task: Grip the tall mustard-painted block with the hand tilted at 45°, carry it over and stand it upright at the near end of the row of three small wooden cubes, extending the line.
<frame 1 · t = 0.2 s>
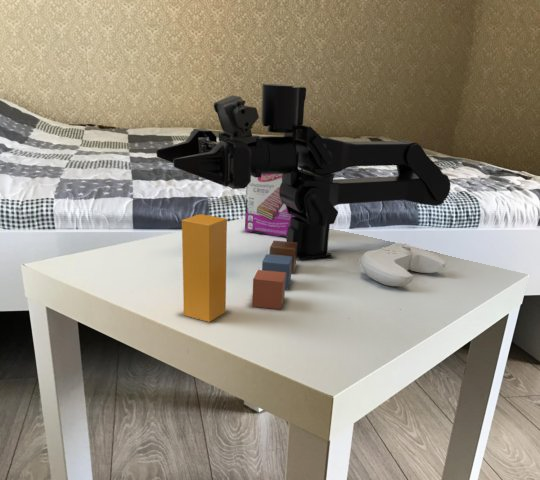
hand: (164, 158, 85), 17 cm above the table, tool horizontal, fingers open, 9 cm apart
tall block: (204, 313, 76), on the table
cube a: (282, 268, 94), on the table
candy bar box: (274, 234, 114), on the table
cube b: (276, 284, 87), on the table
cube c: (268, 302, 81), on the table
game controller: (398, 277, 94), on the table
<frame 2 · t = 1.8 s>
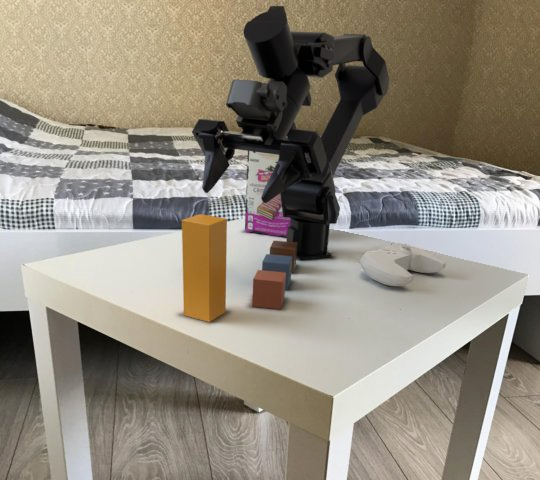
hand: (233, 195, 76), 14 cm above the table, tool tilted 45°, fingers open, 9 cm apart
nothing on the table moved.
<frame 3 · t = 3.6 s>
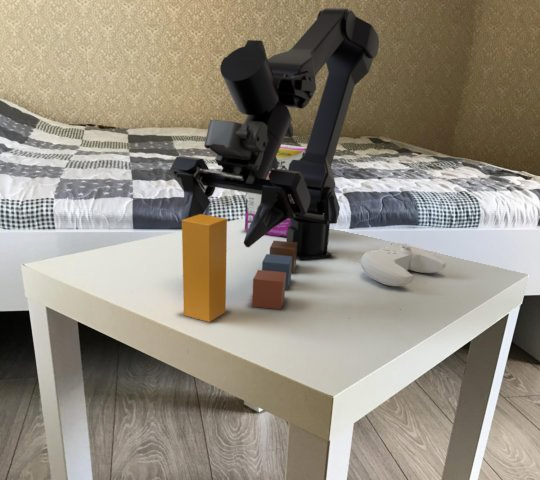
hand: (214, 239, 73), 10 cm above the table, tool tilted 45°, fingers open, 9 cm apart
nothing on the table moved.
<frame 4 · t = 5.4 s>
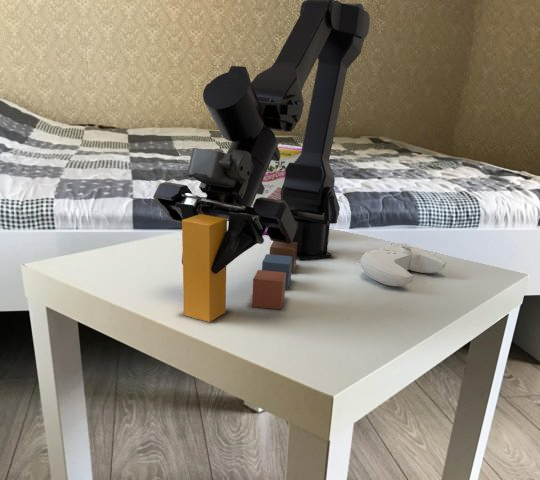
hand: (198, 268, 72), 7 cm above the table, tool tilted 45°, fingers closed on tall block, 4 cm apart
tall block: (204, 313, 76), on the table, touching gripper
everything else where it was.
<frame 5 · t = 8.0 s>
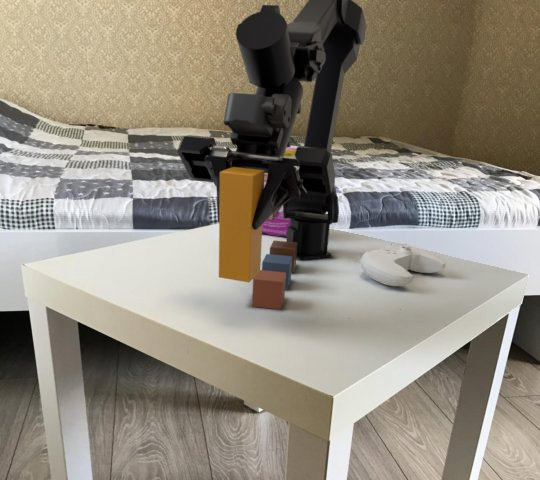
hand: (236, 225, 67), 13 cm above the table, tool tilted 45°, fingers closed on tall block, 4 cm apart
tall block: (239, 275, 71), point 6 cm above the table, touching gripper
everything else where it was.
when the fingers open (7 cm above the table, at t = 10.8 s): tall block stays where it is, on the table.
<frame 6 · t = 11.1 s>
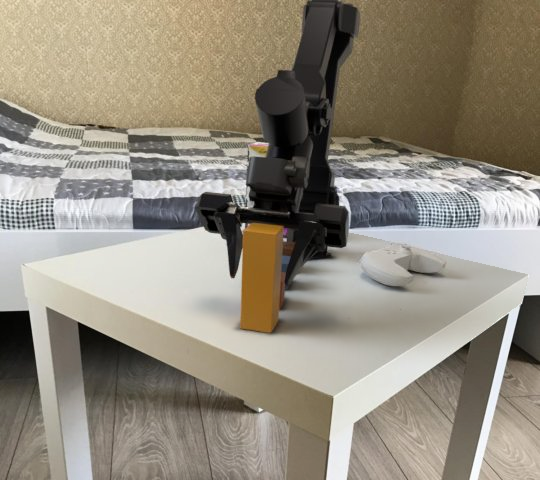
hand: (258, 280, 69), 6 cm above the table, tool tilted 45°, fingers open, 6 cm apart
tall block: (259, 324, 74), on the table
everything else where it was.
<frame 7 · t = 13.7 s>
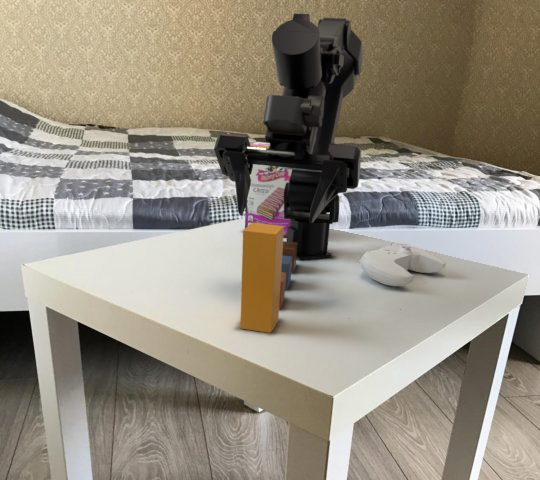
hand: (274, 217, 73), 13 cm above the table, tool tilted 45°, fingers open, 9 cm apart
nothing on the table moved.
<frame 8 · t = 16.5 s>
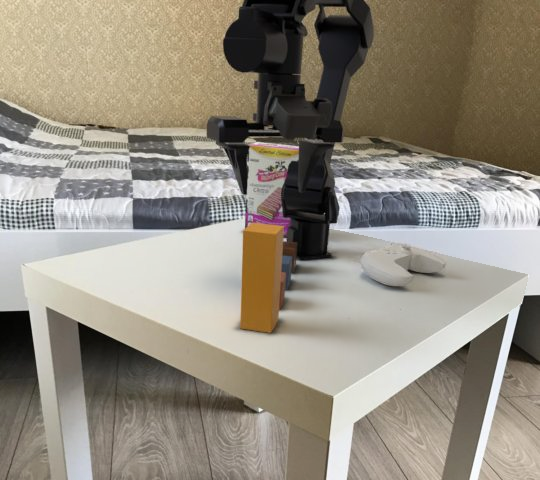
hand: (273, 193, 84), 13 cm above the table, tool pointing down, fingers open, 9 cm apart
nothing on the table moved.
at the end: tall block 0.0 cm from the target spot on the table beside the cube a, on the table; tall block 7.8 cm from the cube c (horizontally); tall block tilted 0° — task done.
